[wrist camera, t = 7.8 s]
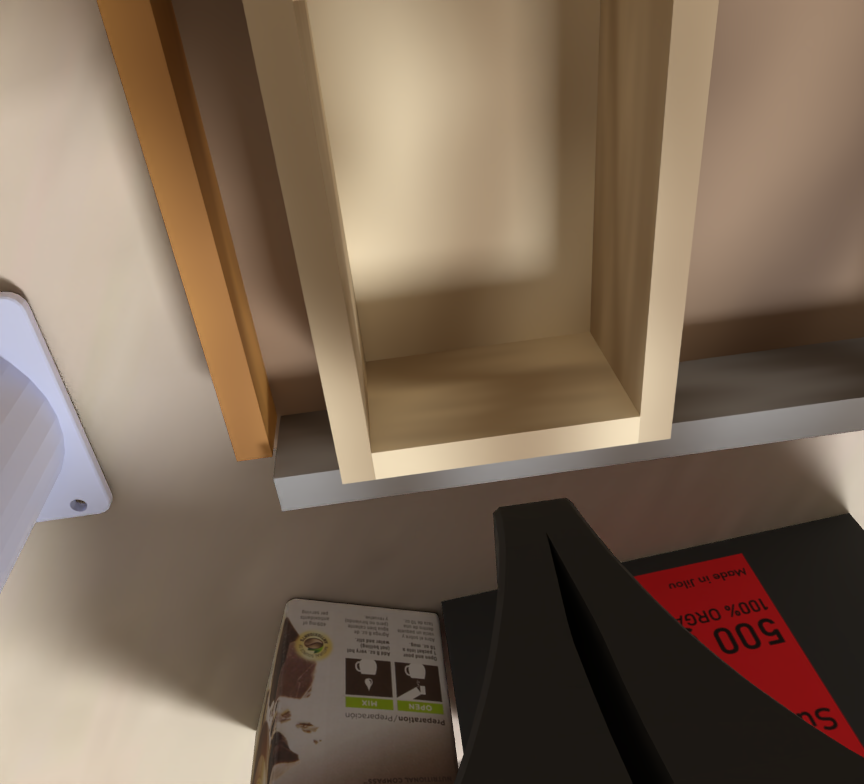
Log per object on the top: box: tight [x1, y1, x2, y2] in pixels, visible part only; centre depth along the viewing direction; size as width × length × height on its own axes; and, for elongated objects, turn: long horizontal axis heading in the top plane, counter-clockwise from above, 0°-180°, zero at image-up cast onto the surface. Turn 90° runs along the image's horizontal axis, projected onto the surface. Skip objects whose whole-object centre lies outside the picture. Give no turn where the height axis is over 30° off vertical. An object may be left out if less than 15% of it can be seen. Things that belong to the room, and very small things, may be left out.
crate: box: [242, 0, 719, 484], centre depth 17 cm, size 8×11×5 cm
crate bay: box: [97, 0, 864, 511], centre depth 18 cm, size 22×16×6 cm
